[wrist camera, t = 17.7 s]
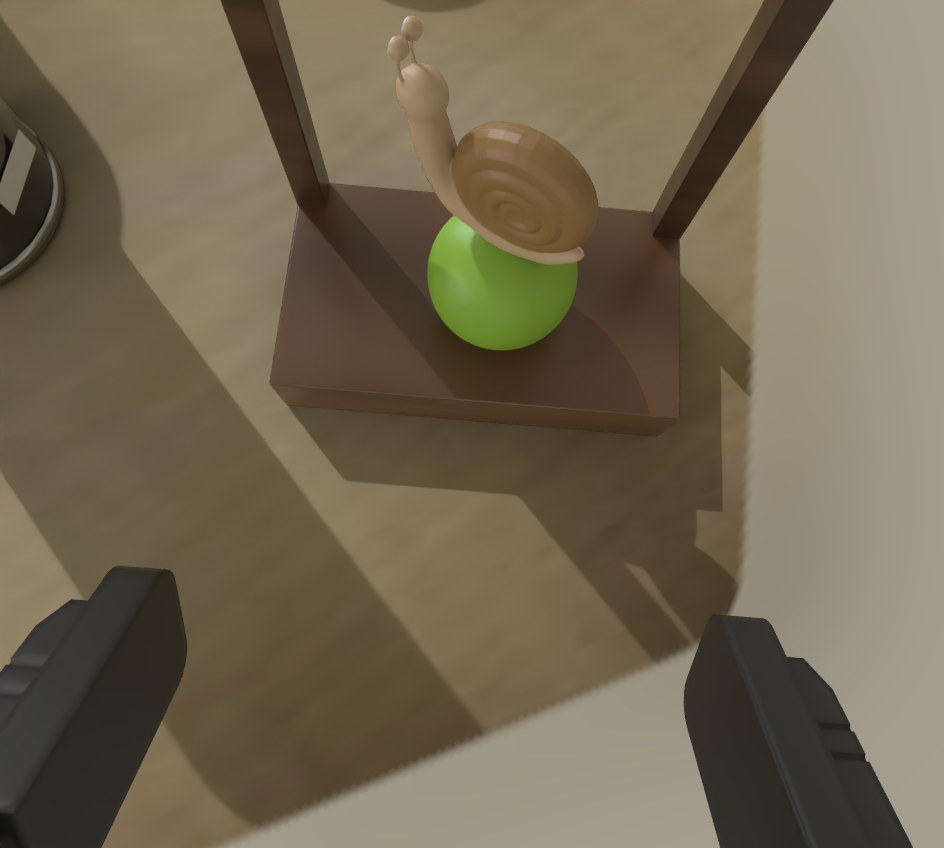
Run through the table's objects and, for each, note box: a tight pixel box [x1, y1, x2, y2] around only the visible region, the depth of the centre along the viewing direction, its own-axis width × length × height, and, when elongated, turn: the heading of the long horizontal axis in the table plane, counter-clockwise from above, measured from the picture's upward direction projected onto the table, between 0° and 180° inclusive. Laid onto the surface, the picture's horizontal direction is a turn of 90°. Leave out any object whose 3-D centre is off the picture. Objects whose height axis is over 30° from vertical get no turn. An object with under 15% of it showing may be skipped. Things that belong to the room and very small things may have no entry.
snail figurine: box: [387, 16, 598, 350], centre depth 22 cm, size 5×6×12 cm
